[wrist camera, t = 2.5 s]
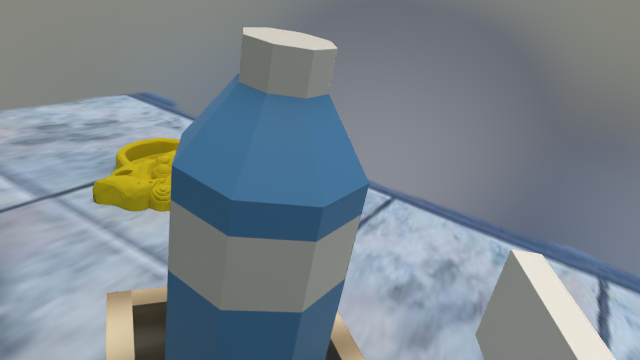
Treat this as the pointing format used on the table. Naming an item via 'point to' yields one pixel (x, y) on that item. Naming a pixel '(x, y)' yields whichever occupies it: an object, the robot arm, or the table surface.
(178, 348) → the water bottle
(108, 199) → the door knocker
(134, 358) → the holder collar
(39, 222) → the table surface
